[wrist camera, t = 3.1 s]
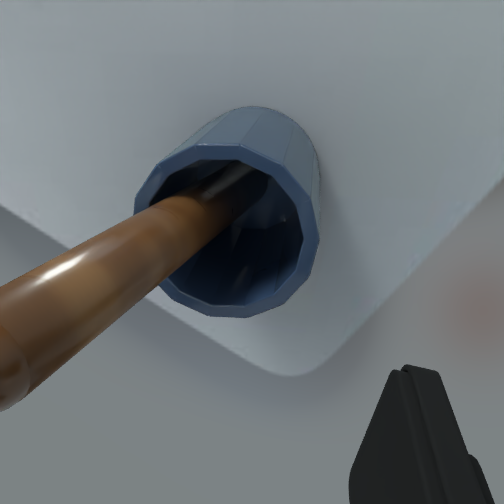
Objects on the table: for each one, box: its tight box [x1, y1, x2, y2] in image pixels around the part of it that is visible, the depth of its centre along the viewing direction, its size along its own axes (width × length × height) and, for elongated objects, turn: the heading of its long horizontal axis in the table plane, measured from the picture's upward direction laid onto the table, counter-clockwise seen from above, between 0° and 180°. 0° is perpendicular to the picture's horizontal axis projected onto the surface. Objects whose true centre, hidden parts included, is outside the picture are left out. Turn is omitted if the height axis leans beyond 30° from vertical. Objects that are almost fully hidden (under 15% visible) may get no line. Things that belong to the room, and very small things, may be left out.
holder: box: [133, 107, 320, 318], centre depth 19 cm, size 6×6×8 cm
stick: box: [0, 160, 268, 412], centre depth 15 cm, size 2×2×16 cm
